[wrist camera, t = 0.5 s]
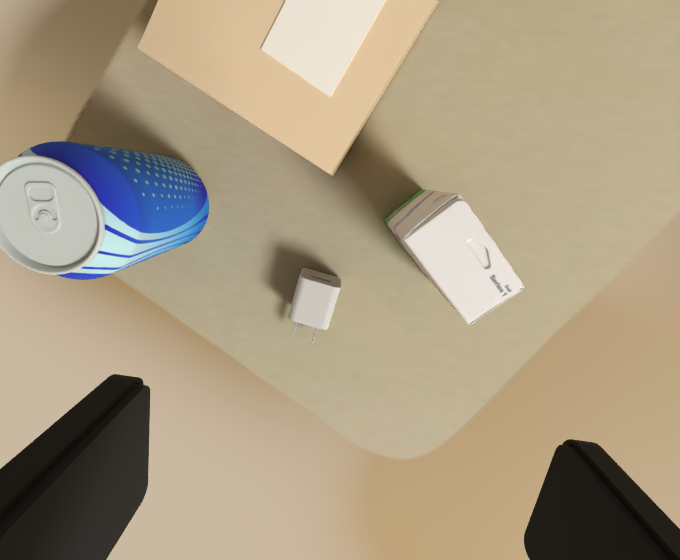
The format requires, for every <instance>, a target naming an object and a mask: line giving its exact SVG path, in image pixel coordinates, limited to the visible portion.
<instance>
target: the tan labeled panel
mask: <svg viewBox="0 0 680 560" xmlns="http://www.w3.org/2000/svg"><path fill="white" fill-rule="evenodd" d="M435 1H436V0H158V2H157V4H156V7H155V9H154V11H153V13H152V16H151V18H150V20H149V23H148V25H147V27H146V30H145V32H144V34H143V36H142V39H141V41H140V43H139V46H138V49H139V50H141V51H142V52H144V53H146V54H147V55H149V56H150V57H152V58H153V59H155V60H156V61H158V62H159V63H161V64H162V65H164V66H165V67H167V68H168V69H170V70H171V71H173V72H174V73H176V74H178V75H179V76H181V77H182V78H184V79H185V80H187V81H188V82H190V83H191V84H193V85H194V86H196V87H197V88H199V89H200V90H202V91H203V92H205V93H207V94H208V95H210V96H211V97H213V98H214V99H216V100H217V101H219V102H220V103H222V104H223V105H225V106H226V107H228V108H229V109H231V110H232V111H234V112H235V113H237V114H239V115H240V116H242V117H243V118H245V119H246V120H248V121H249V122H251V123H252V124H254V125H255V126H257V127H258V128H260V129H261V130H263V131H264V132H266V133H268V134H269V135H271V136H272V137H274V138H275V139H277V140H278V141H280V142H281V143H283V144H284V145H286V146H287V147H289V148H290V149H292V150H293V151H295V152H296V153H298V154H300V155H301V156H303V157H304V158H306V159H307V160H309V161H310V162H312V163H313V164H315V165H316V166H318V167H319V168H321V169H322V170H324V171H325V172H327V173H328V174H330V175H331V173H332V171H333V170H334V168H335V166H336V165H337V163H338V161H339V160H340V158H341V156H342V155H343V153H344V151H345V150H346V148H347V146H348V145H349V143H350V141H351V140H352V138H353V136H354V135H355V133H356V131H357V130H358V128H359V126H360V125H361V123H362V122H363V120H364V118H365V117H366V115H367V113H368V112H369V110H370V108H371V107H372V105H373V103H374V102H375V100H376V98H377V97H378V95H379V93H380V92H381V90H382V88H383V87H384V85H385V83H386V82H387V80H388V78H389V77H390V75H391V73H392V72H393V70H394V68H395V67H396V65H397V64H398V62H399V60H400V59H401V57H402V55H403V54H404V52H405V50H406V49H407V47H408V45H409V44H410V42H411V40H412V39H413V37H414V35H415V34H416V32H417V30H418V29H419V27H420V25H421V24H422V22H423V20H424V19H425V17H426V15H427V14H428V12H429V10H430V9H431V7H432V6H433V4H434V2H435Z"/></svg>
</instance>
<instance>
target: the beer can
mask: <svg viewBox="0 0 680 560" xmlns="http://www.w3.org/2000/svg"><path fill="white" fill-rule="evenodd" d="M208 214H209V198H208V194H207V191H206V188H205V186H204V184H203V182H202V180H201V179H200V177H199V176H198V175H197V173H196V172H195V171H194V170H193V169H192V168H191V167H190V166H188V165H187V164H185V163H184V162H182V161H180V160H178V159H176V158H173V157H170V156H166V155H159V154H152V153H144V152H137V151H130V150H123V149H115V148H108V147H101V146H94V145H86V144H79V143H72V142H48V143H43V144H39V145H36V146H34V147H31V148H29V149H28V150H26V151H24V152H23V153H21V154H20V155H19V156H18V157H16V158H13V159H11V160H8V161H6V162H4V163H3V164H1V165H0V248H1V250H2V251H3V252H4V253H5V254H7V255H8V256H9V257H10V258H11V259H13V260H14V261H15V262H17V263H18V264H20V265H22V266H23V267H25V268H28V269H30V270H33V271H35V272H39V273H44V274H53V275H59V276H61V277H65V278H70V279H79V280H80V279H81V280H85V279H87V280H88V279H96V278H100V277H104V276H106V275H110V274H112V273H114V272H117V271H119V270H122V269H124V268H127V267H129V266H132V265H134V264H137V263H139V262H141V261H144V260H146V259H149V258H151V257H154V256H156V255H159V254H161V253H163V252H166V251H168V250H171V249H173V248H176V247H178V246H181V245H183V244H185V243H188V242H189V241H191V240H193V239H194V238H195V237H196V236H197V235H198V234H199V233H200V232H201V231H202V229H203V228H204V226H205V224H206V221H207V218H208Z"/></svg>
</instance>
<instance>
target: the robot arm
mask: <svg viewBox="0 0 680 560" xmlns="http://www.w3.org/2000/svg"><path fill="white" fill-rule="evenodd" d="M149 417H150V388H149V387H148V386H145V385H143V381H142V379H141V378H138V377H130V376H123V375H117V374H116V375H115V374H114V375H111V376H110V377H108V378H107V379H106V380H105V381H104V382H102V383H101V384H100V385H99V386H98V387H96V388H95V389H94V390H93V391H92V392H91V393H89V394H88V395H87V396H86V397H85V398H83V399H82V400H81V401H80V402H79V403H78V404H77V405H75V406H74V407H73V408H72V409H71V410H69V411H68V412H67V413H66V414H65V415H64V416H62V417H61V418H60V419H59V420H58V421H56V422H55V423H54V424H53V425H52V426H51V427H49V429H47V430H46V431H45V432H44V433H42V434H41V435H40V436H39V437H38V438H36V439H35V440H34V441H33V442H32V443H31V444H30V445H28V446H27V447H26V448H25V449H23V450H22V451H21V452H20V453H19V454H18V455H16V457H14V458H13V459H12V460H11V461H9V462H8V463H7V464H6V465H5V466H3V467H2V468H1V469H0V560H106V559H107V557H108V556H109V554H110V552H111V551H112V549H113V548H114V546H115V544H116V543H117V541H118V539H119V538H120V536H121V535H122V533H123V532H124V530H125V528H126V527H127V525H128V523H129V522H130V520H131V519H132V517H133V515H134V514H135V512H136V511H137V509H138V507H139V506H140V504H141V502H142V501H143V498H144V496H145V493H146V490H147V486H148V456H149ZM524 544H525V549H526V552H527V555H528V557H529V559H530V560H680V529H679V528H678V527H677V526H676V525H675V524H674V523H673V522H672V521H671V520H670V519H669V518H668V517H667V515H666V514H665V513H664V512H663V511H662V510H661V509H660V508H659V507H658V506H657V505H656V504H655V503H654V502H653V501H652V500H651V499H650V498H649V497H648V496H647V495H646V493H645V492H643V490H641V488H640V487H639V486H638V485H637V484H636V483H635V482H634V481H633V480H632V479H631V478H630V477H629V476H628V475H627V474H626V473H625V472H624V471H623V470H622V468H621V467H620V466H619V465H617V463H616V462H615V461H614V460H613V459H612V458H611V457H610V456H609V455H608V454H607V453H606V452H605V451H604V450H603V449H602V448H601V447H600V446H599V445H598V444H596V443H592V442H586V441H579V440H571V439H570V440H566V441H565V442H564V443H563V445H559V446H558V447H557V449H556V451H555V453H554V456H553V458H552V461H551V464H550V467H549V469H548V472H547V475H546V477H545V480H544V483H543V485H542V488H541V491H540V494H539V497H538V499H537V502H536V504H535V507H534V510H533V513H532V515H531V518H530V521H529V523H528V526H527V529H526V532H525V535H524Z"/></svg>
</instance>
